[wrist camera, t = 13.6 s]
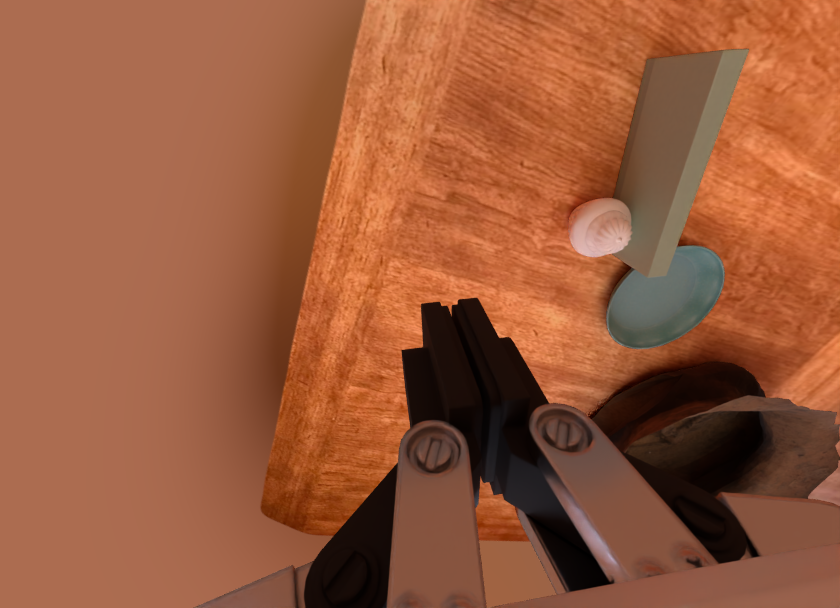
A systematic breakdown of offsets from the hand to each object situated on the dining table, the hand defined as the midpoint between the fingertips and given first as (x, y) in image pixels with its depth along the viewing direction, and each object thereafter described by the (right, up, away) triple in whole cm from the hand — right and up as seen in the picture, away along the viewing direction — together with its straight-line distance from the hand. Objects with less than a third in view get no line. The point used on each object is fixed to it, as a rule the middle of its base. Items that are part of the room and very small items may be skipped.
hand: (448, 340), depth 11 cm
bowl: (+40, -18, +49) cm, 66 cm away
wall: (+22, +16, +25) cm, 37 cm away
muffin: (+17, +11, +28) cm, 34 cm away
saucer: (+29, +3, +34) cm, 45 cm away
